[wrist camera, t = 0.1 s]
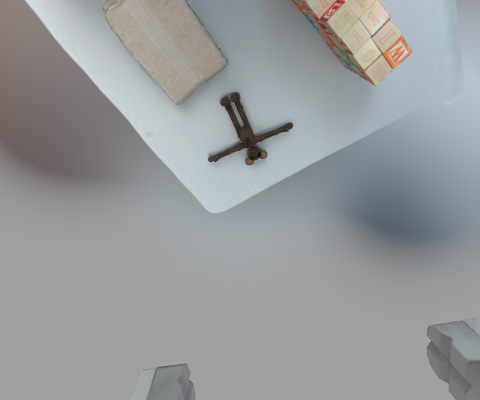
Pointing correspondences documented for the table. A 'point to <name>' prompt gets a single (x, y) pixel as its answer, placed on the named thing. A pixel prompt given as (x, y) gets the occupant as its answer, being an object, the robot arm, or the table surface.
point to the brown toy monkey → (246, 133)
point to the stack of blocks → (358, 35)
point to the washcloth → (166, 43)
